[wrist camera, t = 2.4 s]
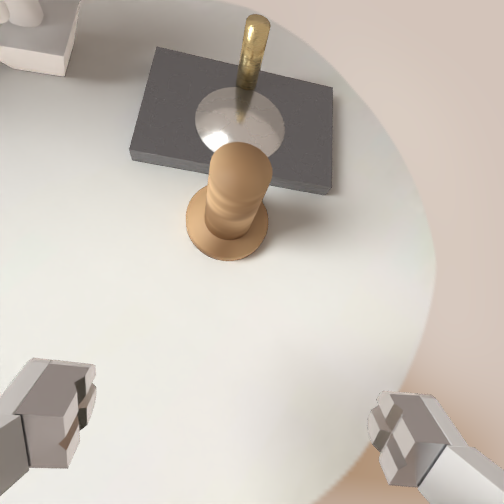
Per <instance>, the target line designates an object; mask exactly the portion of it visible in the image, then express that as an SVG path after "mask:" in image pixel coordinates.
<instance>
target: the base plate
mask: <svg viewBox="0 0 504 504" xmlns="http://www.w3.org/2000/svg"><path fill="white" fill-rule="evenodd" d="M238 67H239V66H238V65H233V64H229V63H225V62H221V61H216V60H212V59H208V58H203V57H199V56H195V55H191V54H186V53H182V52H178V51H173V50H169V49H165V48H160V47H157V48H156V52H155V55H154V59H153V63H152V66H151V70H150V74H149V78H148V81H147V85H146V89H145V93H144V96H143V100H142V104H141V107H140V111H139V115H138V119H137V122H136V126H135V130H134V134H133V137H132V141H131V145H130V148H129V151H130V154H131V158H132V160H135V161H140V162H146V163H151V164H157V165H162V166H168V167H173V168H179V169H184V170H190V171H195V172H200V173H206V174H209V168H210V161H211V158H212V156H213V154H214V153H215V151H216V150H217V149H218V148H220V147H221V146H223V145H225V144H228V143H232V142H244V143H248V144H251V145H253V146H255V147H257V148H259V149H260V150H261V151H263V153H264V154H265V155H266V156H267V157H268V159H269V161H270V163H271V166H272V179H271V182H270V184H269V185H272V186H277V187H283V188H288V189H294V190H299V191H305V192H310V193H315V194H321V195H326V194H327V192H328V191H329V190H330V189H331V188H332V106H333V88H332V87H328V86H324V85H319V84H315V83H311V82H306V81H302V80H298V79H293V78H289V77H285V76H281V75H276V74H272V73H268V72H263V71H260V72H259V76H258V80H257V84H256V87H255V89H254V90H244V89H241V88H240V87H238V86H237V84H236V79H237V73H238Z"/></svg>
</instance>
